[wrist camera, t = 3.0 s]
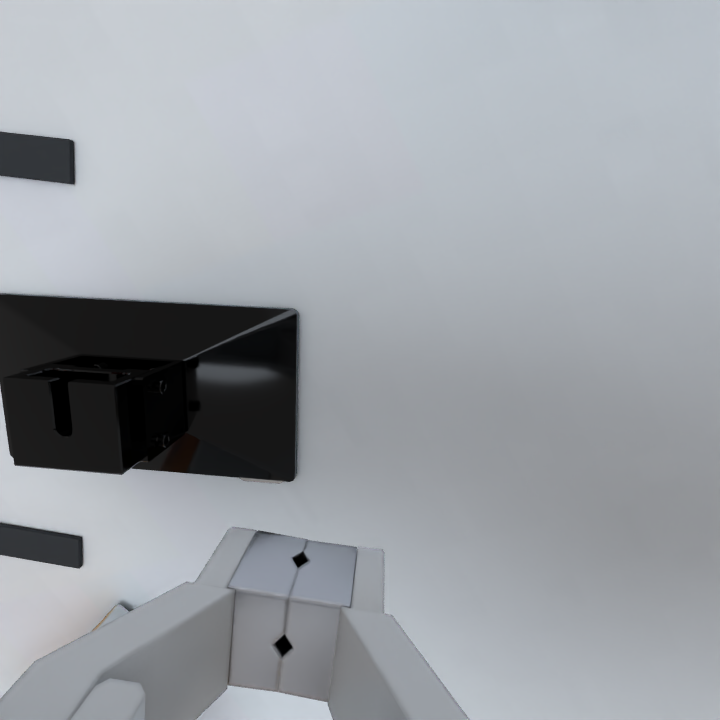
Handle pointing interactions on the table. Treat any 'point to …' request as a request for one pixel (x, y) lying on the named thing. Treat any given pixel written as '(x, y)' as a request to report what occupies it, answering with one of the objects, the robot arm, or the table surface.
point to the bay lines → (57, 165)
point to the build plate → (150, 386)
